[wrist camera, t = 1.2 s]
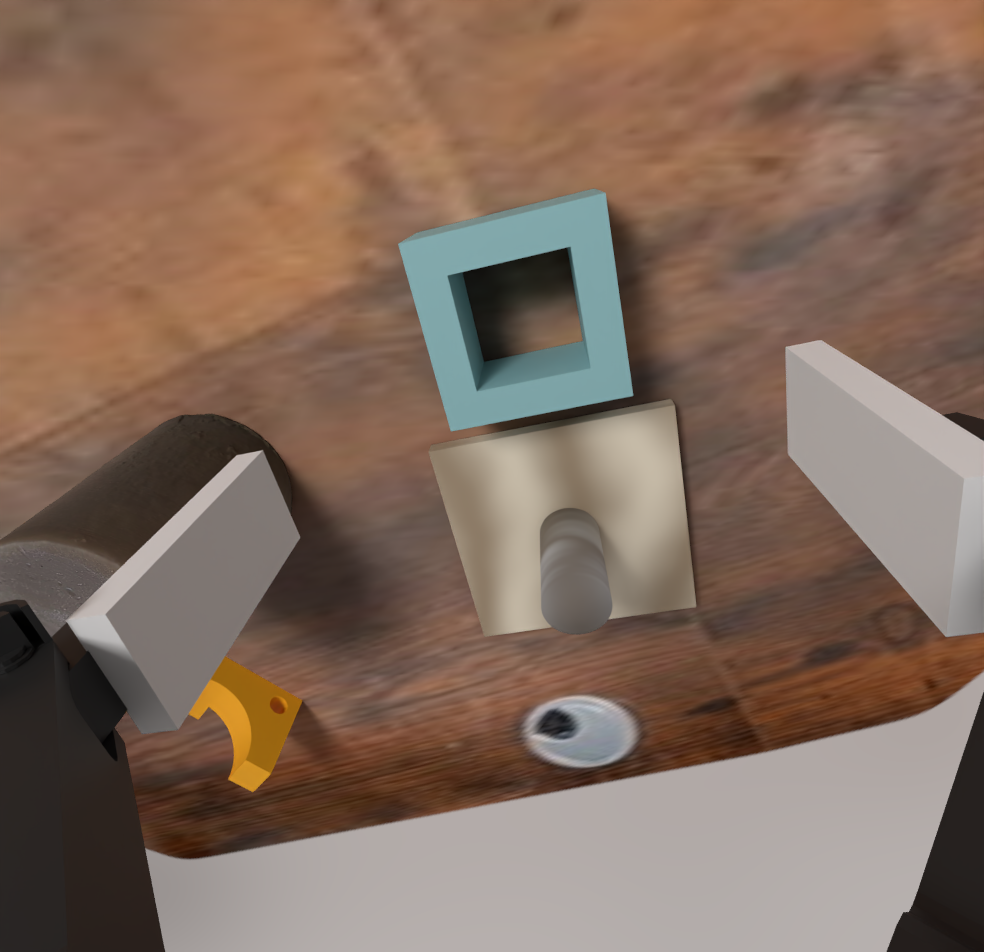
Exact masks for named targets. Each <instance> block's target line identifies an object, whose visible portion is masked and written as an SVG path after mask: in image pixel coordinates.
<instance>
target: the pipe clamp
mask: <svg viewBox="0 0 984 952" xmlns="http://www.w3.org/2000/svg"><path fill="white" fill-rule="evenodd" d="M301 703H302V700H300V699H299V698H297V697H295V696H293V695H292V694H290V693H288V692H286V691H285V690H283V689H281V688H279V687H278V686H276V685H274V684H272V683H271V682H269V681H267V680H265V679H264V678H262V677H260V676H258V675H257V674H255V673H253V672H251V671H250V670H248V669H246V668H244V667H243V666H241V665H239V664H237V663H236V662H234V661H232V660H230V659H229V658H227V657H224V659H223V660H222V662H221V663H220V665H219V667H218V668H217V670H216V671H215V673H214V674H213V676H212V678H211V679H210V681H209V682H208V684H207V685H206V687H205V689H204V690H203V692H202V693H201V695H200V696H199V698H198V700H197V701H196V703H195V704H194V706H193V707H192V709H191V711H190V712H189V715H191V716H193V717H195V718H196V719H199V718H200V717H201V716H202V714H203V713H204V712H205V711H206V710H207V708H208V707H210V708H211V709H212V710H213V711H215V712H216V713H217V714H218V715H219V716H220V717H221V719H222V720H223V721H224V723H225V724H226V726H227V728H228V730H229V732H230V735H231V737H232V741H233V746H234V762H233V767H232V770H231V774H230V776H229V778H228V779H229V780H230V781H232V782H234V783H236V784H238V785H240V786H242V787H244V788H246V789H248V790H250V791H252V792H254V791H255V790H256V789H257V788H258V787H259V786H260V785H261V784H262V782H263V781H264V780H265V779H266V778H267V777H268V776H269V775H270V774H271V773H272V770H273V768H274V766H275V764H276V761H277V759H278V757H279V754H280V752H281V750H282V747H283V745H284V743H285V740H286V738H287V736H288V733H289V731H290V729H291V726H292V724H293V722H294V719H295V717H296V715H297V712H298V710H299V708H300V705H301ZM126 712H127V711H126Z"/></svg>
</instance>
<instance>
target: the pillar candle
mask: <svg viewBox="0 0 984 952" xmlns="http://www.w3.org/2000/svg"><path fill="white" fill-rule="evenodd" d="M261 450H263V452H264V454H265V456H266V459H267V461H268V463H269V466H270V468H271V470H272V473H273V475H274V477H275V480H276V482H277V484H278V487H279V489H280V491H281V494H282V496H283V498H284V500H285V503H286V505H287V507H288V510H289V512H290V513H291V510H292V507H291V504H292V492H291V484H290V479H289V477H288V473H287V471H286V468H285V466H284V464H283V462H282V460H281V459H280V458H279V457H278V454H277V453H276V452H275V451H274V449H273V448H272V447H271V446H270V445H269V444H268V442H266V441H265V440H262V437H260V436H259V435H258V434H256V433H255V432H253V431H252V430H250V429H249V428H247V427H246V426H244V425H241V424H239V423H236V422H235V421H231V420H229V419H227V418H225V417H221V416H218V415H214V414H205V415H181V416H178V417H176V418H173V419H170V420H168V421H166V422H164V423H162V424H161V425H159V426H158V427H157V428H155V429H154V430H153V431H151V432H150V433H149V434H147V435H146V436H144V437H143V438H141V439H140V440H139V441H137V442H136V443H134V444H133V445H131V446H130V447H129V448H127V449H126V450H125V451H123V452H122V453H120V454H119V455H118V456H116V457H115V458H113V459H112V460H111V461H109V462H108V463H106V464H105V465H104V466H102V467H101V468H100V469H98V470H97V471H96V472H94V473H93V474H91V475H90V476H89V477H87V478H86V479H85V480H83V481H82V482H81V483H79V484H78V485H77V486H75V487H74V488H72V489H71V490H70V491H68V492H67V493H66V494H64V495H63V496H62V497H60V498H59V499H57V500H56V501H55V502H53V503H52V504H50V505H49V506H47V507H46V508H44V509H43V510H42V511H40V512H39V513H38V514H36V515H35V516H34V517H32V518H31V519H29V520H28V521H26V522H25V523H24V524H22V525H21V526H19V527H18V528H17V529H15V530H14V531H12V532H11V533H10V534H8V535H7V536H6V537H4V538H3V539H1V540H0V603H3V602H7V601H12V600H16V599H18V600H26V602H27V603H28V605H29V606H30V607H31V609H32V610H33V612H34V613H35V615H36V616H37V617H38V619H39V620H40V622H41V623H42V625H43V626H44V628H45V629H46V630H47V632H48V633H49V635H50V636H51V637H52V636H53V635H54V634H55V633H56V632H57V631H58V630H59V629H60V628H61V627H62V626H63V625H64V624H66V623H67V622H66V620H67V619H68V618H69V617H70V616H71V615H72V614H73V613H74V612H75V611H76V610H77V609H78V608H79V607H80V606H81V605H82V604H83V603H84V602H85V601H86V600H88V599H89V598H90V597H91V596H92V595H93V594H94V593H95V592H96V591H97V590H98V589H99V588H100V587H101V586H102V585H103V584H104V583H105V582H106V581H107V580H108V579H109V578H110V577H111V576H112V575H113V574H114V573H115V572H116V571H118V570H119V569H120V568H121V567H122V566H123V565H124V564H125V563H126V562H127V561H128V560H129V559H130V558H131V557H132V556H133V555H134V554H135V553H136V552H137V551H138V550H139V549H140V548H141V547H142V546H143V545H144V544H145V543H146V542H147V541H149V540H150V539H151V538H152V537H153V536H154V535H155V534H156V533H157V532H158V531H159V530H160V529H161V528H162V527H163V526H164V525H165V524H166V523H167V522H168V521H169V520H170V519H171V518H172V517H173V516H174V515H175V514H176V513H177V512H179V511H180V510H181V509H182V508H183V507H184V506H185V505H186V504H187V503H188V502H189V501H190V500H191V499H192V498H193V497H194V496H195V495H196V494H197V493H198V492H199V491H200V490H201V489H202V488H203V487H204V486H205V485H206V484H207V483H209V482H210V481H211V480H212V479H213V478H214V477H215V476H216V475H217V474H218V473H219V472H220V471H221V470H222V469H223V468H224V467H225V466H226V465H227V464H228V463H229V462H230V461H231V460H232V459H233V458H234V457H235V456H236V455H241V454H246V453H251V452H256V451H261Z"/></svg>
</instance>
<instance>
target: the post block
mask: <svg viewBox="0 0 984 952" xmlns="http://www.w3.org/2000/svg"><path fill="white" fill-rule="evenodd" d="M429 455H430V458H431V462H432V465H433V468H434V472H435V475H436V478H437V482H438V485H439V488H440V491H441V495H442V498H443V501H444V505H445V508H446V511H447V515H448V518H449V521H450V524H451V528H452V531H453V534H454V538H455V541H456V544H457V548H458V551H459V554H460V557H461V561H462V564H463V567H464V571H465V574H466V577H467V581H468V584H469V587H470V590H471V594H472V597H473V600H474V604H475V607H476V610H477V614H478V617H479V620H480V623H481V627H482V630H483V633H484V637H486V636H493V635H500V634H507V633H514V632H522V631H529V630H536V629H543V628H550V627H553V628H555V629H556V630H558V631H561V632H564V633H567V634H585V633H589V632H592V631H594V630H596V629H598V628H600V627H601V626H602V625H604V624H605V623H606V621H607V620H608V619H614V618H621V617H628V616H636V615H643V614H650V613H657V612H664V611H671V610H678V609H685V608H693V607H696V598H695V589H694V579H693V570H692V561H691V551H690V542H689V533H688V523H687V514H686V505H685V495H684V486H683V477H682V467H681V458H680V449H679V439H678V430H677V421H676V412H675V405H674V403H673V401H672V399H668V400H663V401H657V402H652V403H647V404H642V405H637V406H631V407H626V408H621V409H616V410H611V411H605V412H600V413H595V414H590V415H585V416H579V417H574V418H569V419H564V420H559V421H553V422H548V423H543V424H538V425H533V426H527V427H522V428H517V429H512V430H507V431H501V432H496V433H491V434H486V435H481V436H475V437H470V438H465V439H460V440H454V441H449V442H444V443H439V444H434V445H431V447H430V449H429Z"/></svg>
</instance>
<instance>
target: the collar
mask: <svg viewBox="0 0 984 952" xmlns="http://www.w3.org/2000/svg"><path fill="white" fill-rule="evenodd" d="M398 245H399V248H400V252H401V256H402V259H403V263H404V266H405V270H406V273H407V277H408V280H409V284H410V288H411V291H412V295H413V298H414V302H415V305H416V309H417V312H418V316H419V320H420V323H421V327H422V330H423V334H424V337H425V341H426V344H427V348H428V352H429V355H430V359H431V362H432V366H433V369H434V373H435V376H436V380H437V384H438V387H439V391H440V394H441V398H442V401H443V405H444V408H445V412H446V416H447V419H448V423H449V426H450V430H451V431H456V430H461V429H466V428H471V427H476V426H481V425H487V424H492V423H497V422H502V421H507V420H512V419H517V418H523V417H528V416H533V415H538V414H543V413H548V412H553V411H558V410H564V409H569V408H574V407H579V406H584V405H589V404H594V403H600V402H605V401H610V400H615V399H620V398H625V397H630V396H633V390H632V383H631V376H630V368H629V361H628V354H627V346H626V339H625V332H624V325H623V317H622V310H621V303H620V296H619V288H618V281H617V274H616V266H615V259H614V252H613V245H612V237H611V230H610V223H609V216H608V208H607V201H606V194H605V192H602V191H600V190H597V189H591V190H587V191H583V192H579V193H574V194H570V195H566V196H562V197H558V198H554V199H550V200H546V201H542V202H538V203H534V204H530V205H526V206H522V207H518V208H514V209H510V210H506V211H502V212H498V213H494V214H490V215H486V216H482V217H478V218H474V219H470V220H466V221H462V222H458V223H454V224H450V225H446V226H442V227H438V228H434V229H430V230H426V231H422V232H418V233H416V234H414V235H412V236H411V237H409V238H407V239H406V240H404V241H402V242H401V243H399V244H398ZM562 248H567V249H568V255H569V261H570V267H571V273H572V279H573V285H574V291H575V297H576V303H577V309H578V315H579V320H580V326H581V332H582V338H583V341H581V342H576V343H571V344H567V345H562V346H557V347H552V348H548V349H543V350H538V351H533V352H529V353H524V354H519V355H514V356H510V357H505V358H500V359H495V360H491V361H486V362H484V360H483V356H482V352H481V347H480V343H479V339H478V335H477V331H476V327H475V323H474V319H473V314H472V310H471V306H470V302H469V298H468V294H467V290H466V286H465V282H464V277H463V273H462V272H465V271H469V270H473V269H477V268H482V267H486V266H490V265H494V264H499V263H503V262H507V261H511V260H516V259H520V258H524V257H528V256H533V255H537V254H541V253H545V252H550V251H554V250H558V249H562Z"/></svg>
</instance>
